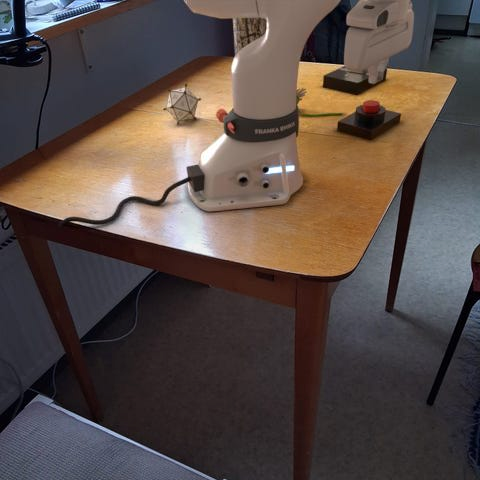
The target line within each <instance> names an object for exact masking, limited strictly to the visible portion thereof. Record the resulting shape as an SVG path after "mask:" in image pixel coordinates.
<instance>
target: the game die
mask: <svg viewBox="0 0 480 480" xmlns="http://www.w3.org/2000/svg"><path fill="white" fill-rule="evenodd" d="M166 90H167V92H168V97H167V101H166V107H164V108H163V109H162V111H167V112H168V113H169V114H170V115H171V116H172V117H173V118H174V119H175V120H176V124H177V126H179V125H180V122H183V121H187V120H190V119H193V120H197V117H196V116H195V115H196V111H197V108H198V105H199V104H198V103H199V101H201V100H202V98H201V97H199V98H197V96H196V95H195V94H194V93H193V92H192V90H190V89H189V88H188V83H185V84H184V86H183V87H179V88H175V89H171V88H167V89H166Z"/></svg>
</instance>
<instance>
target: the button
mask: <svg viewBox="0 0 480 480" xmlns="http://www.w3.org/2000/svg"><path fill="white" fill-rule="evenodd" d="M380 104H381V103H380V101H378V100H376V99H375V100H374V99H367V100H365V101H363V103H362V105H363V109H362V111H363V112H367V113H375V112H378V111H379V105H380Z"/></svg>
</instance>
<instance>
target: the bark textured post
mask: <svg viewBox="0 0 480 480" xmlns="http://www.w3.org/2000/svg"><path fill="white" fill-rule="evenodd" d="M232 25H233V27H232V28H233V44H234V45H233V46H234V57H235V56H236V54H237V53H238V52H239V51H240V50H241V49H242V48H244V47H245V46H246V45H248V44H250V43H251V42H253V41H255V40H256V39H258V38H260V37H261V36H263V35H264V34H265V33H266V27H267V23H266V20H265V19H263V18H232Z"/></svg>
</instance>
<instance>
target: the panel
mask: <svg viewBox="0 0 480 480" xmlns="http://www.w3.org/2000/svg"><path fill="white" fill-rule="evenodd" d="M387 73H388V67H386V69H385V71H384V74H383V79H382V80H381V81H379V82H377V83H375V84H371V83H369V81H368V80H369V73H368V70H367V68H366V73H364V74H359V73H355V72H350V71H346V67H345V65H344V66H341V67H339V68H337V69H334V70H332V71H330V72H328V73H326V74H324V75H323V78H322V87H323V88H325V89H329V90H334V91H338V92H342V93H347V94H351V95H356V96H357V95H360V94H361V93H364V92H366V91H368V90H369V89H371V88H374V87H375V86H377V85H379V84H382V83H383V82H385V81H386V80H387V76H388V75H387Z"/></svg>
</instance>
